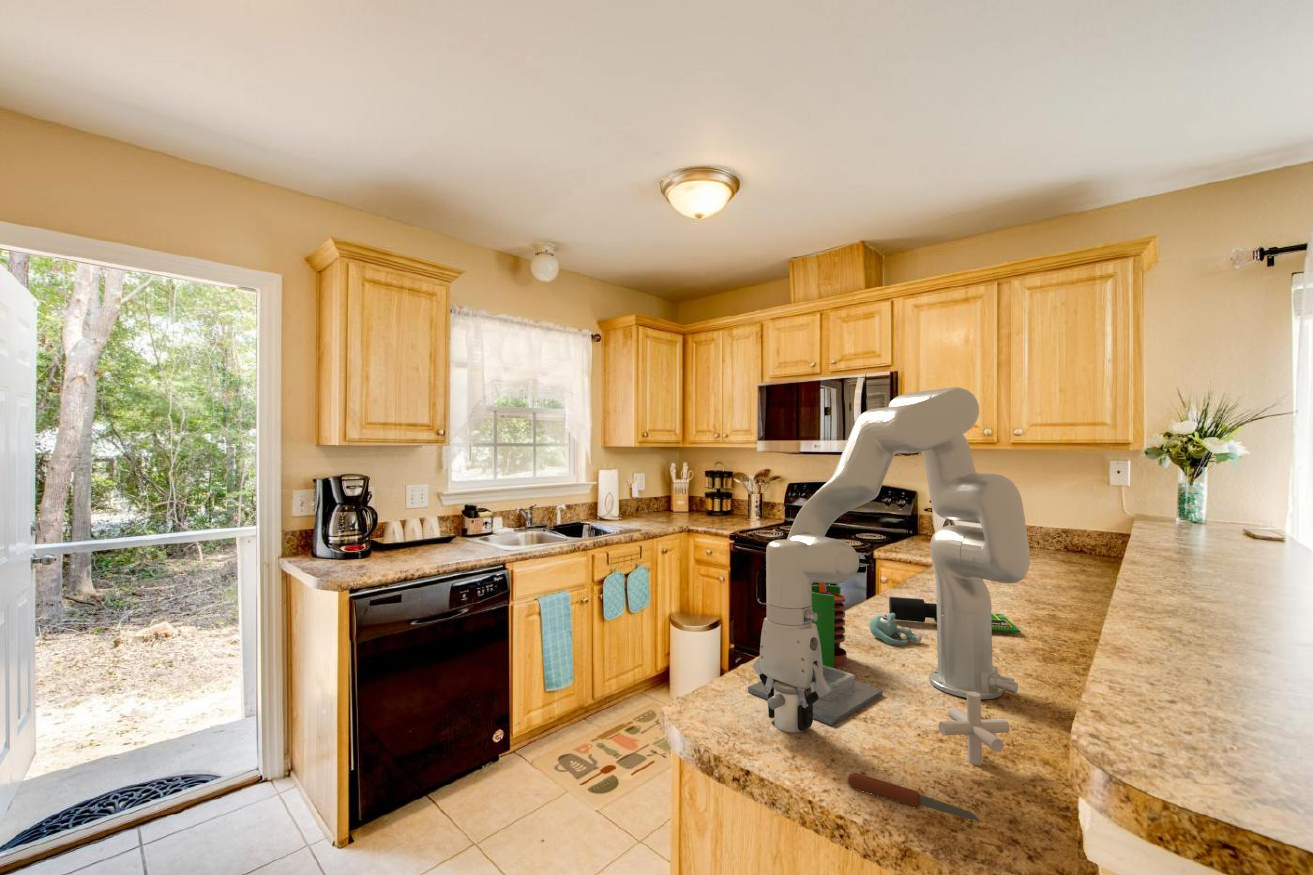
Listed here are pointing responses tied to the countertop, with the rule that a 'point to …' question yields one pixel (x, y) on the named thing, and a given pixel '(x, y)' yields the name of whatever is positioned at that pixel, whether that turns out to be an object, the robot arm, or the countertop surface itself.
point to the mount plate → (834, 696)
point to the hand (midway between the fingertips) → (789, 720)
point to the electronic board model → (935, 613)
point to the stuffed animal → (891, 630)
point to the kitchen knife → (904, 795)
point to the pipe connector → (975, 728)
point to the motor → (830, 623)
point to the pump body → (785, 706)
